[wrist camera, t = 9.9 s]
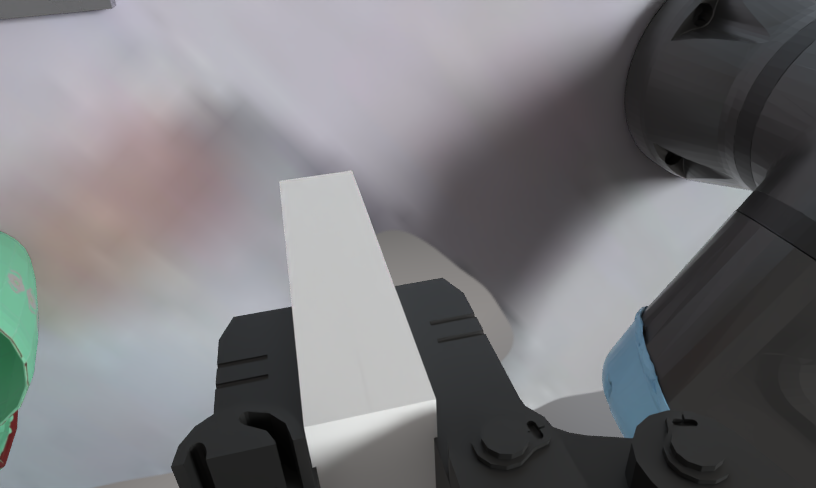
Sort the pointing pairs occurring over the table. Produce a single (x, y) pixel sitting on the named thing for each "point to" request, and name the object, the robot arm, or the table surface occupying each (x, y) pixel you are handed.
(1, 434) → the mug
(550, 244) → the table surface
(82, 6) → the cap plate
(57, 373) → the table surface
